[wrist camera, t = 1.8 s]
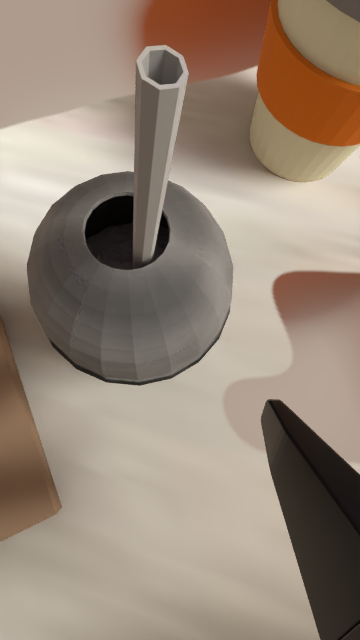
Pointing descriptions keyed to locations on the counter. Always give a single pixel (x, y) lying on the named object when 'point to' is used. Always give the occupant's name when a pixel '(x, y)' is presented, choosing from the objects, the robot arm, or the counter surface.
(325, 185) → the counter surface
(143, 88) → the beverage cup
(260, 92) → the reusable coffee cup
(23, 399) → the base board
